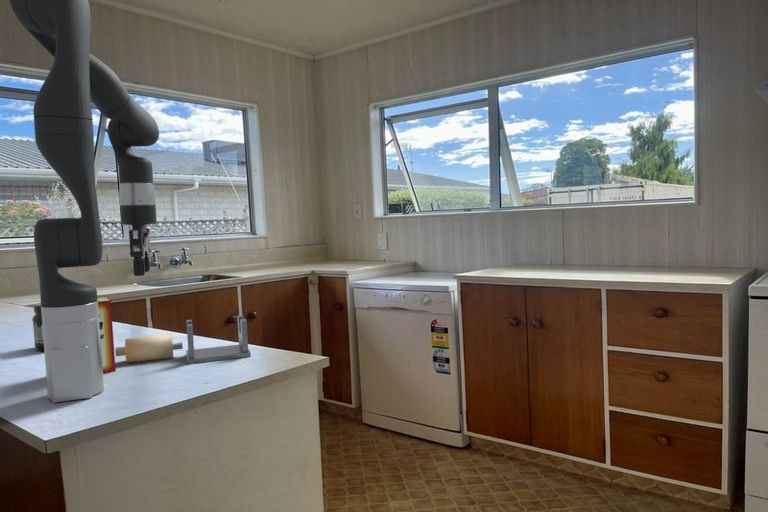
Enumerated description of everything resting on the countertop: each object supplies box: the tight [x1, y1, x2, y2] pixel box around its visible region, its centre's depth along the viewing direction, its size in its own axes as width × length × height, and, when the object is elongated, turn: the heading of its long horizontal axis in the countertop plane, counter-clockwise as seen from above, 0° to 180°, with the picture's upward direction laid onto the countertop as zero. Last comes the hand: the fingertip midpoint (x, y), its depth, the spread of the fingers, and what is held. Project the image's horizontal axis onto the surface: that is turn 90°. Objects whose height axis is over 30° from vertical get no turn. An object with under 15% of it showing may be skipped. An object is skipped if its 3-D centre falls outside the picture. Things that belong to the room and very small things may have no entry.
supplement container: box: [31, 302, 44, 352], centre depth 144 cm, size 10×10×12 cm
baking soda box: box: [97, 296, 117, 374], centre depth 117 cm, size 10×6×16 cm
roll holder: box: [186, 314, 252, 365], centre depth 128 cm, size 10×14×8 cm
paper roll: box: [114, 333, 183, 364], centre depth 126 cm, size 14×6×6 cm, turn 111°
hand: (142, 273), depth 125 cm, fingers open, 8 cm apart
